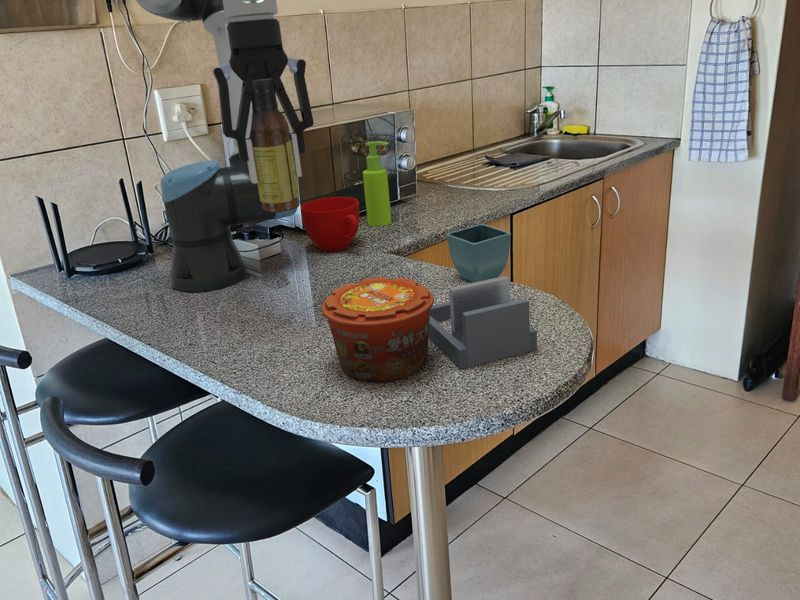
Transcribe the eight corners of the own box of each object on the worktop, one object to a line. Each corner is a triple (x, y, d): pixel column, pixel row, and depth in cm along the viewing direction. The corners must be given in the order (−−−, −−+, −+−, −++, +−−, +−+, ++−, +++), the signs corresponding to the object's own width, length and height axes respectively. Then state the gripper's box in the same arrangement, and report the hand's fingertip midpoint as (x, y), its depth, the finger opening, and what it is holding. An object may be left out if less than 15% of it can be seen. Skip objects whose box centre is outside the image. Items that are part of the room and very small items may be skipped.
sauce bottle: (283, 202, 114) (266, 76, 107) (309, 206, 110) (293, 75, 103) (252, 211, 109) (231, 80, 102) (277, 216, 106) (258, 80, 98)
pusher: (452, 350, 104) (449, 288, 100) (507, 336, 107) (505, 275, 103) (456, 353, 103) (452, 290, 99) (510, 339, 105) (509, 278, 102)
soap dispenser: (390, 226, 168) (383, 143, 161) (364, 226, 171) (356, 144, 163) (398, 219, 173) (391, 139, 166) (372, 219, 176) (365, 140, 168)
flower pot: (475, 290, 125) (473, 243, 122) (447, 278, 132) (444, 233, 129) (513, 278, 129) (512, 232, 126) (483, 267, 136) (482, 223, 133)
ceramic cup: (334, 264, 145) (328, 218, 142) (295, 248, 158) (289, 205, 155) (384, 249, 152) (380, 205, 148) (343, 234, 165) (339, 193, 161)
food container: (307, 376, 100) (297, 308, 96) (369, 332, 112) (362, 270, 108) (401, 399, 92) (395, 325, 88) (457, 349, 104) (453, 282, 100)
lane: (413, 324, 114) (409, 278, 111) (481, 308, 117) (479, 264, 114) (460, 369, 98) (457, 317, 95) (536, 349, 102) (536, 299, 99)
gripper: (185, 23, 93) (216, 192, 102) (323, 12, 99) (341, 173, 107) (182, 25, 100) (211, 183, 109) (311, 14, 105) (329, 166, 114)
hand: (276, 178), depth 108 cm, fingers closed on sauce bottle, 6 cm apart
